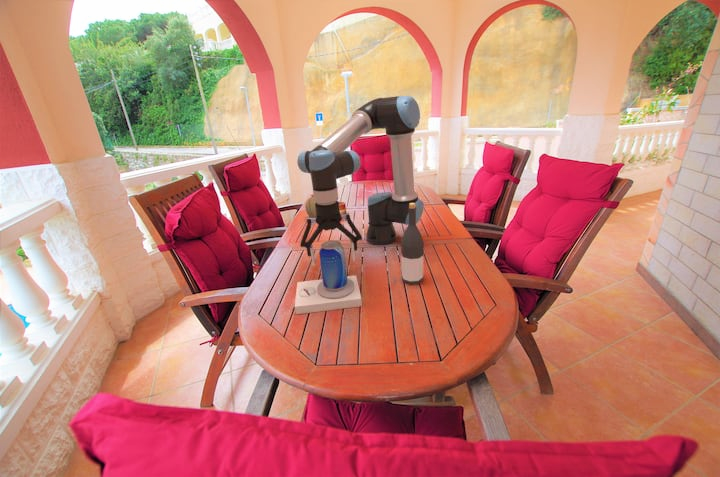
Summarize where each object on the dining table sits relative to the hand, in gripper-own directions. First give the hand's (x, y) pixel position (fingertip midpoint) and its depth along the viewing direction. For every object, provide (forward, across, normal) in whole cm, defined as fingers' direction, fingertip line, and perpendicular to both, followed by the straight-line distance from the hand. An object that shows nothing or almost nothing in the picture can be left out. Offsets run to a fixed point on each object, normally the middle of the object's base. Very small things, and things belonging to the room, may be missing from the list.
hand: (333, 261), depth 108 cm
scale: (+14, +3, 0) cm, 14 cm away
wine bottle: (+14, -29, -4) cm, 32 cm away
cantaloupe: (+15, +6, -88) cm, 90 cm away
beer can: (+10, 0, 0) cm, 10 cm away
